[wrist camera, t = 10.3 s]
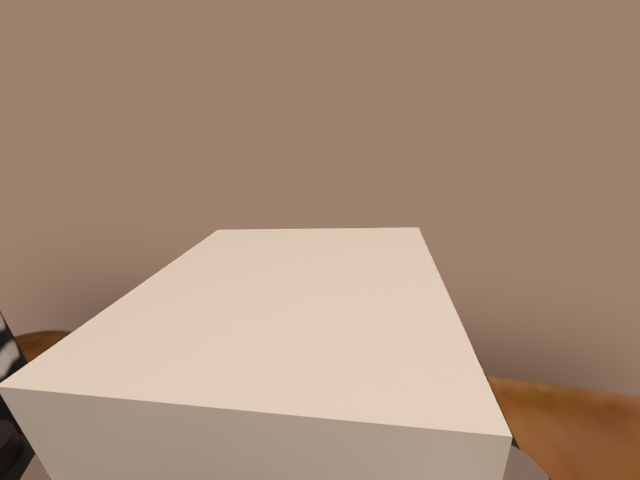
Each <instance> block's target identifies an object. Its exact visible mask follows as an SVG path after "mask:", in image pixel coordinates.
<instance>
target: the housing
mask: <svg viewBox="0 0 640 480" xmlns="http://www.w3.org/2000/svg"><path fill="white" fill-rule="evenodd" d="M0 394H1V396H2V398H3V399H4V401H5V403H6V404H7V406H8V408H9V409H10V411H11V413H12V414H13V416H14V418H15V419H16V421H17V423H18V424H19V426H20V428H21V429H22V431H23V433H24V434H25V436H26V438H27V439H28V441H29V443H30V444H31V446H32V448H33V449H34V451H35V453H36V454H37V456H38V458H39V459H40V461H41V463H42V464H43V466H44V468H45V469H46V471H47V473H48V474H49V476H50V478H51V479H52V480H503V476H504V472H505V467H506V463H507V459H508V455H509V450H510V446H511V442H512V438H513V436H512V434H511V432H510V430H509V427H508V425H507V423H506V421H505V418H504V416H503V414H502V412H501V410H500V407H499V405H498V403H497V401H496V399H495V396H494V394H493V392H492V390H491V387H490V385H489V383H488V381H487V379H486V376H485V374H484V372H483V370H482V368H481V365H480V363H479V361H478V359H477V357H476V354H475V352H474V350H473V348H472V345H471V343H470V341H469V339H468V337H467V334H466V332H465V330H464V328H463V326H462V324H461V321H460V319H459V317H458V314H457V312H456V310H455V308H454V306H453V304H452V301H451V299H450V297H449V295H448V292H447V290H446V288H445V286H444V284H443V281H442V279H441V277H440V275H439V273H438V270H437V268H436V266H435V264H434V261H433V259H432V257H431V255H430V253H429V250H428V248H427V246H426V244H425V242H424V239H423V237H422V235H421V233H420V230H419V228H346V229H345V228H342V229H341V228H340V229H262V230H261V229H260V230H259V229H256V230H217V231H216V232H214V233H213V234H211V235H210V236H209V237H207V238H206V239H204V240H203V241H202V242H200V243H199V244H198V245H196V246H194V247H193V248H192V249H190V250H189V251H187V252H186V253H184V254H183V255H182V256H180V257H179V258H178V259H176V260H174V261H173V262H172V263H170V264H169V265H167V266H166V267H165V268H163V269H162V270H160V271H159V272H157V273H156V274H155V275H153V276H152V277H150V278H149V279H147V280H146V281H145V282H143V283H142V284H140V285H139V286H138V287H136V288H135V289H133V290H132V291H130V292H129V293H128V294H126V295H125V296H123V297H122V298H121V299H119V300H118V301H116V302H115V303H113V304H112V305H111V306H109V307H108V308H106V309H105V310H104V311H102V312H101V313H100V314H98V315H96V316H95V317H94V318H92V319H91V320H89V321H88V322H86V323H85V324H84V325H82V326H81V327H79V328H78V329H76V330H75V331H74V332H72V333H71V334H69V335H68V336H67V337H65V338H64V339H62V340H61V341H59V342H58V343H57V344H55V345H54V346H52V347H51V348H49V349H48V350H47V351H45V352H44V353H42V354H41V355H40V356H38V357H37V358H35V359H34V360H32V361H31V362H30V363H28V364H27V365H25V366H24V367H22V368H21V369H20V370H18V371H17V372H15V373H14V374H13V375H11V376H10V377H8V378H7V379H5V380H4V381H3V382H1V383H0Z"/></svg>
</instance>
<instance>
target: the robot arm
mask: <svg viewBox="0 0 640 480" xmlns="http://www.w3.org/2000/svg"><path fill="white" fill-rule="evenodd" d="M474 352H475V351H474ZM475 354H476V353H475ZM476 357H477V355H476ZM477 359H478V357H477ZM478 361H479V359H478ZM479 363H480V361H479ZM480 365H481V364H480ZM481 368H482V366H481ZM483 372H484V371H483ZM484 374H485V373H484ZM485 376H486V375H485ZM486 379H487V377H486ZM487 381H488V379H487ZM490 387H491V386H490ZM491 390H492V388H491ZM492 392H493V390H492ZM493 394H494V392H493ZM494 396H495V394H494ZM495 399H496V397H495ZM496 401H497V399H496ZM497 403H498V401H497ZM498 405H499V403H498ZM499 407H500V405H499ZM500 410H501V408H500ZM501 412H502V410H501ZM502 414H503V412H502ZM503 416H504V414H503ZM504 418H505V416H504ZM505 421H506V419H505ZM506 423H507V421H506ZM507 425H508V423H507ZM508 427H509V425H508ZM509 430H510V427H509ZM510 432H511V430H510ZM511 434H512V432H511ZM512 436H513V434H512ZM0 480H52V479H51V478H50V476H49V474H48V473H47V471H46V469H45V468H44V466H43V464H42V463H41V461H40V459H39V458H38V456H37V454H36V453H35V451H34V449H33V448H32V446H31V444H30V443H29V441H28V439H27V438H26V436H25V435H23V436H19V434H18V433H17V431H16V429H15V428H14V426H13V424H12V423H11V422H10V421H7V420H0ZM503 480H551V479H549V478H548V477H547V475H546V474H545V472H544V471H543V470H542V469H541V467H540V466H539V465H538V464H537V463H536V462H535V461H534V460H533V459H532V458H530V457H529V456H528V455H527V454H525V453H524V452H522V451H521V450H520V448H519V446H518V444H517V443H516V441H515V438H514V436H513V438H512V442H511V446H510V450H509V455H508V459H507V463H506V467H505V472H504V476H503Z"/></svg>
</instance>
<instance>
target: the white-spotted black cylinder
mask: <svg viewBox="0 0 640 480" xmlns="http://www.w3.org/2000/svg"><path fill="white" fill-rule="evenodd" d="M27 364H28V362H27V360H26V358H25V356H24V355H23V353H22V351H21V349H20V347H19V345H18V343H17V342H16V340H15V338H14V336H13V334H12V332H11V330H10V329H9V327H8V325H7V323H6V321H5V319H4V318H3V316H2V314H1V312H0V383H1V382H3V381H4V380H5V379H7V378H8V377H10V376H11V375H13V374H14V373H15V372H17V371H18V370H20V369H21V368H22V367H24V366H25V365H27ZM0 420H7V421H10V422H11V423H12V424H13V426H14V428H15V429H16V431H17V433H18V434H19V436H23V435H25V434H24V433H23V431H22V429H21V428H20V426H19V424H18V423H17V421H16V419H15V418H14V416H13V414H12V413H11V411H10V409H9V408H8V406H7V404H6V403H5V401H4V399H3V398H2V396H1V394H0Z"/></svg>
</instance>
